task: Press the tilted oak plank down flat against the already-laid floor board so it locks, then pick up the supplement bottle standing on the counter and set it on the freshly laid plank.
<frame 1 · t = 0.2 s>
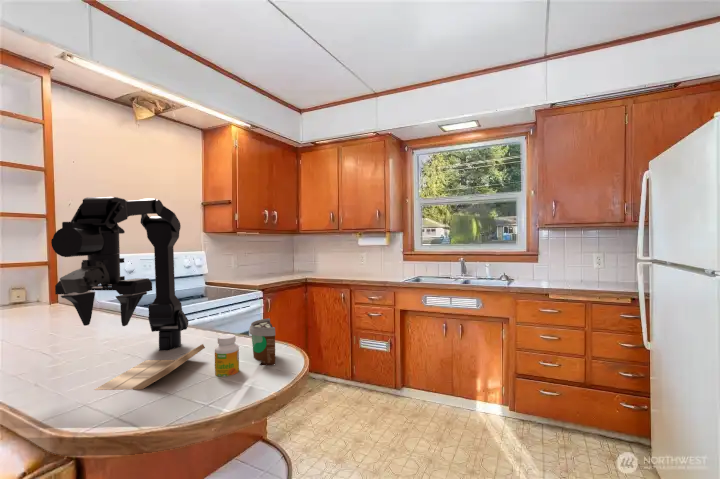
hand: (105, 325, 78), 14 cm above the counter, tool pointing down, fingers open, 9 cm apart
plank: (172, 365, 84), point 3 cm above the counter, hinge at 30.0°
floor board: (139, 378, 84), on the counter
food container: (261, 361, 95), on the counter
supplement bottle: (227, 377, 84), on the counter
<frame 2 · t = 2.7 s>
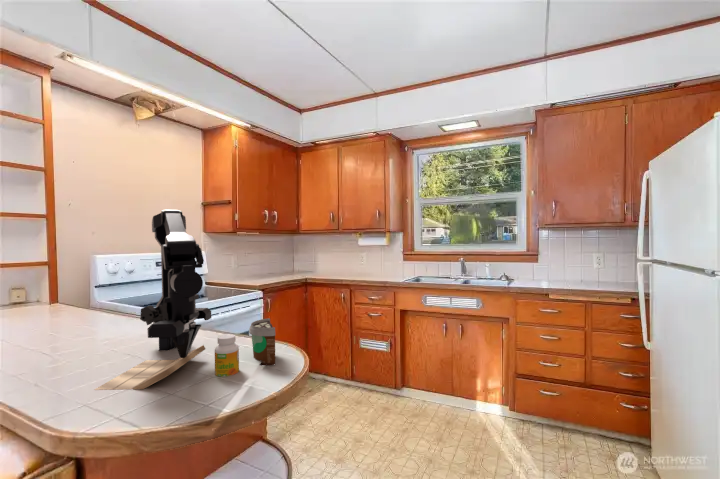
hand: (183, 357, 84), 5 cm above the counter, tool pointing down, fingers closed, pressing on plank
plank: (172, 366, 84), point 3 cm above the counter, hinge at 27.5°, touching gripper
everything else where it was.
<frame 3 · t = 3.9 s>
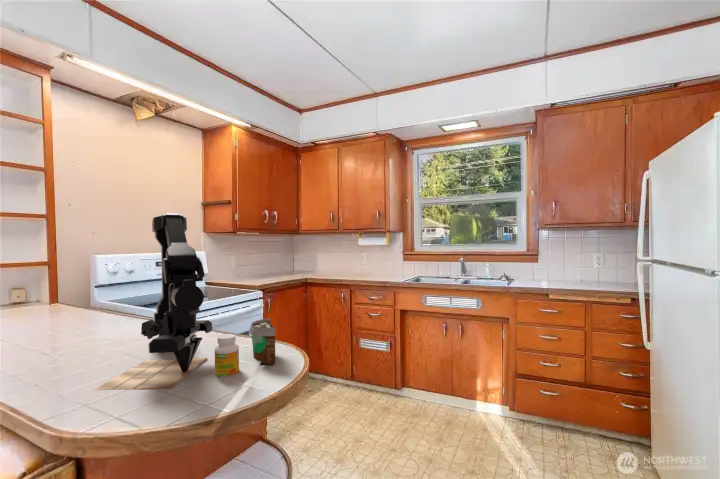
hand: (184, 371, 84), 2 cm above the counter, tool pointing down, fingers closed, pressing on plank
plank: (174, 373, 84), point 1 cm above the counter, hinge at 3.6°, touching gripper
everything else where it was.
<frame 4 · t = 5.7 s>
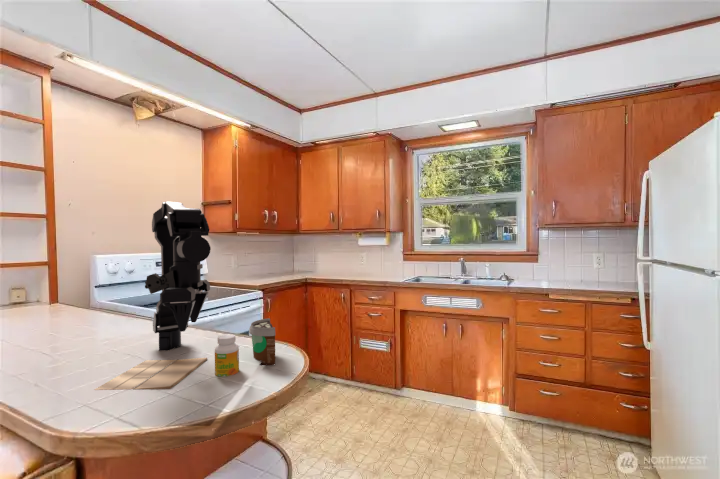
hand: (188, 326, 84), 12 cm above the counter, tool pointing down, fingers open, 9 cm apart
plank: (174, 373, 84), point 1 cm above the counter, hinge at 3.4°
everything else where it was.
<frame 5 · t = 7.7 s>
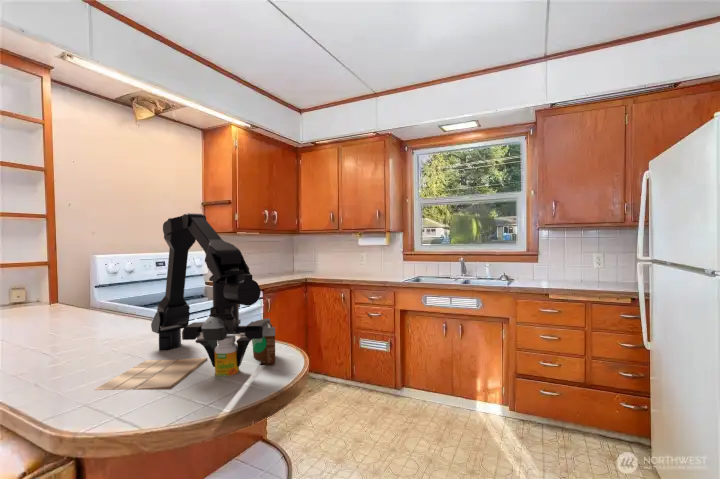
hand: (227, 366, 84), 3 cm above the counter, tool pointing down, fingers closed on supplement bottle, 5 cm apart
supplement bottle: (227, 377, 84), on the counter, touching gripper
everything else where it was.
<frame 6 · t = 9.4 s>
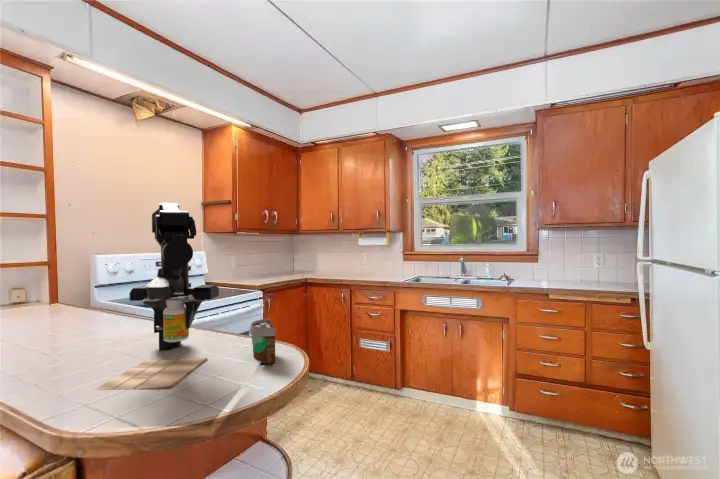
hand: (176, 328, 84), 12 cm above the counter, tool pointing down, fingers closed on supplement bottle, 5 cm apart
supplement bottle: (176, 340, 84), point 9 cm above the counter, touching gripper
everything else where it was.
when the fingers open (5 cm above the counter, at t = 11.1 s): supplement bottle drops 1 cm, resting on plank.
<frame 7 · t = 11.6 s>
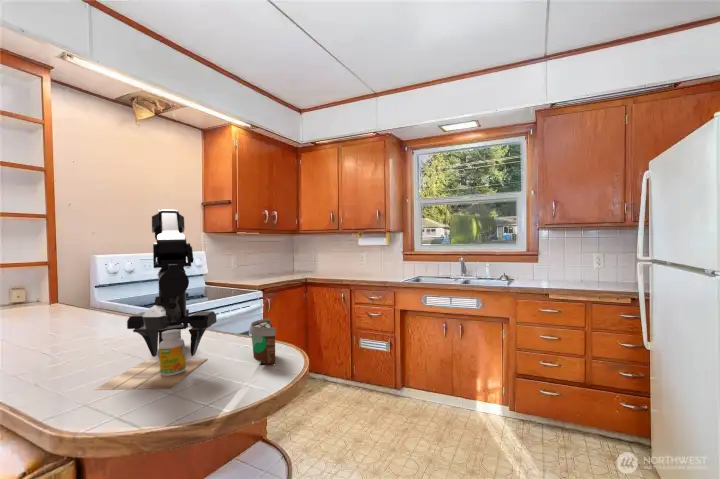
hand: (173, 355, 84), 5 cm above the counter, tool pointing down, fingers open, 9 cm apart
plank: (174, 374, 84), point 1 cm above the counter, hinge at 1.7°, touching supplement bottle
supplement bottle: (173, 372, 84), point 1 cm above the counter, touching plank
everything else where it was.
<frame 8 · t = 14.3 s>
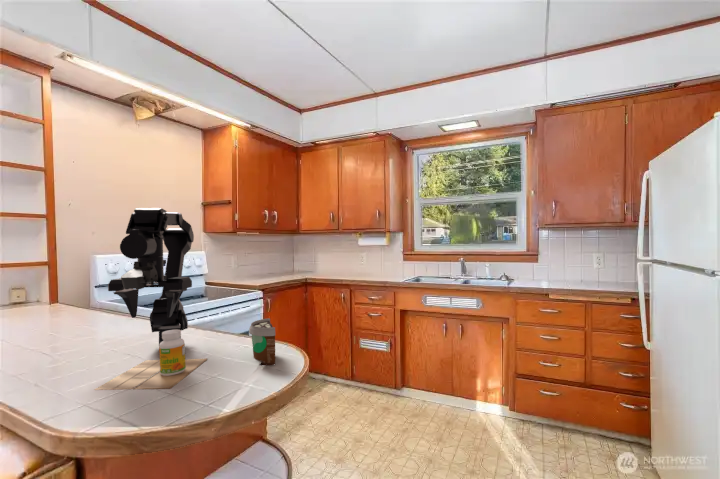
hand: (151, 317, 91), 13 cm above the counter, tool pointing down, fingers open, 9 cm apart
nothing on the counter moved.
at the end: plank at +2° (first picture: +30°); supplement bottle inside the target area (0.7 cm from its centre), point 1.1 cm above the counter; supplement bottle tilted 2° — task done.
